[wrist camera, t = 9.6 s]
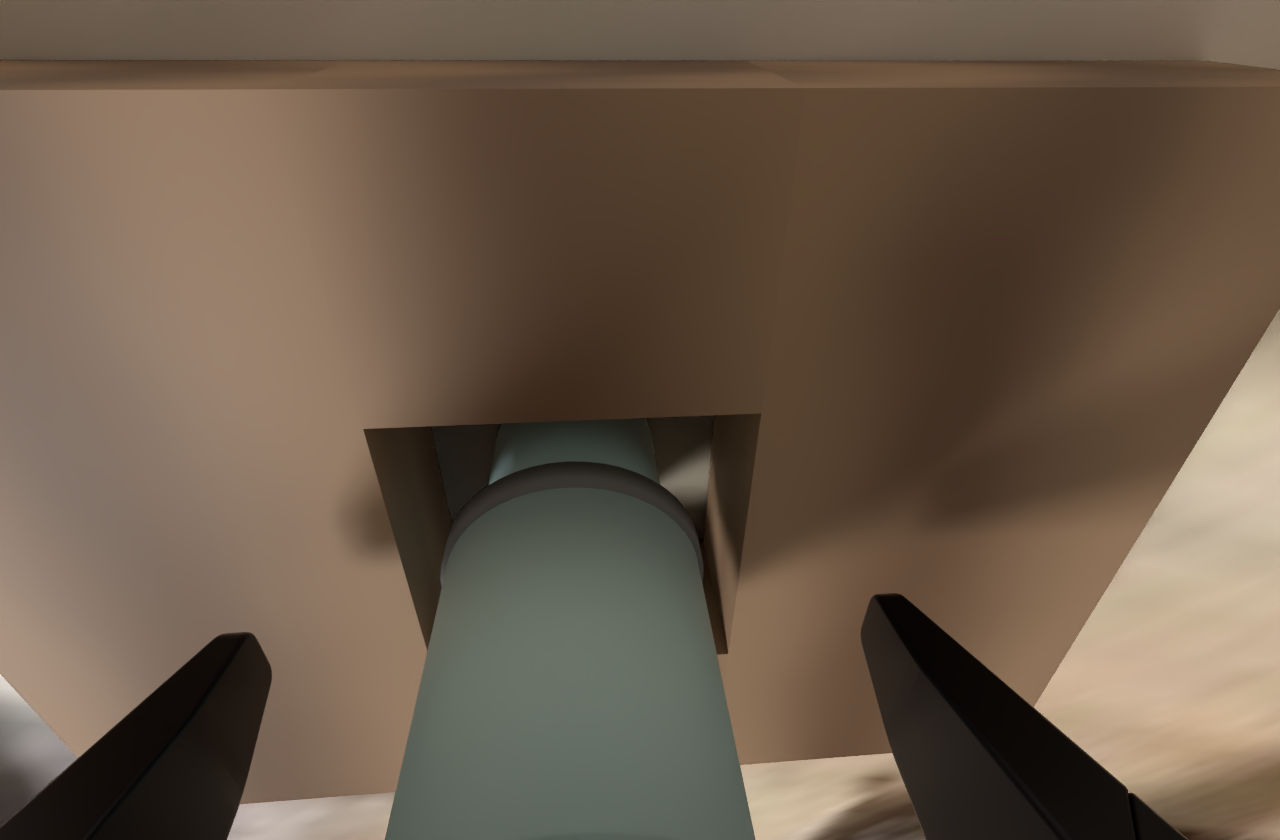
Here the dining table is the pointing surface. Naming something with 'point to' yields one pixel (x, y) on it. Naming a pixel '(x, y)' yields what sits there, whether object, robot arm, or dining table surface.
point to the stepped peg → (571, 658)
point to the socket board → (601, 355)
